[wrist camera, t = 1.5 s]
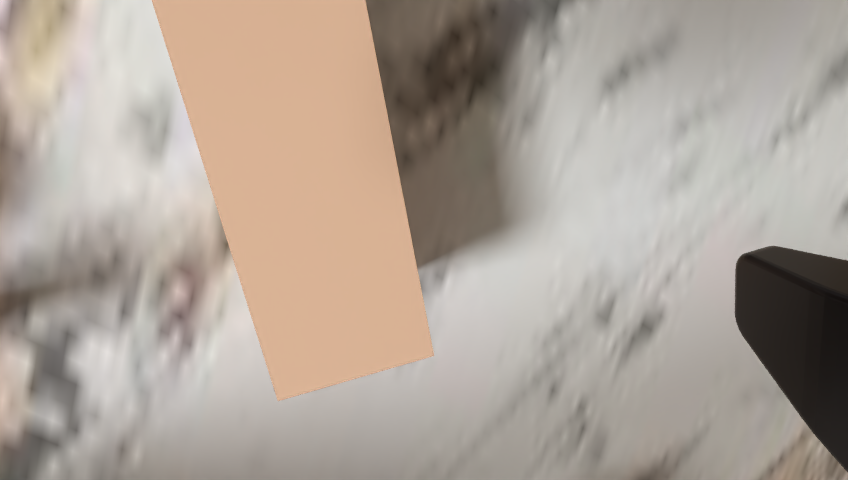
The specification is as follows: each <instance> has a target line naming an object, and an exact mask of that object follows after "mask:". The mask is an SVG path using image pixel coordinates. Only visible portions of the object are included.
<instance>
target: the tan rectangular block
mask: <svg viewBox="0 0 848 480" xmlns="http://www.w3.org/2000/svg"><path fill="white" fill-rule="evenodd" d="M152 2H153V6H154V9H155V12H156V15H157V18H158V21H159V25H160V28H161V31H162V34H163V37H164V41H165V44H166V47H167V50H168V53H169V56H170V60H171V63H172V66H173V69H174V72H175V76H176V79H177V82H178V85H179V88H180V91H181V95H182V98H183V101H184V104H185V107H186V110H187V114H188V117H189V120H190V123H191V126H192V130H193V133H194V136H195V139H196V142H197V145H198V149H199V152H200V155H201V158H202V161H203V164H204V168H205V171H206V174H207V177H208V180H209V184H210V187H211V190H212V193H213V196H214V199H215V203H216V206H217V209H218V212H219V215H220V218H221V222H222V225H223V228H224V231H225V234H226V238H227V241H228V244H229V247H230V250H231V253H232V257H233V260H234V263H235V266H236V269H237V273H238V276H239V279H240V282H241V285H242V288H243V292H244V295H245V298H246V301H247V304H248V307H249V311H250V314H251V317H252V320H253V323H254V327H255V330H256V333H257V336H258V339H259V342H260V346H261V349H262V352H263V355H264V358H265V361H266V365H267V368H268V371H269V374H270V377H271V381H272V384H273V387H274V390H275V393H276V396H277V400H278V401H280V400H284V399H287V398H290V397H294V396H297V395H301V394H304V393H308V392H311V391H315V390H318V389H321V388H325V387H328V386H332V385H335V384H339V383H342V382H346V381H349V380H352V379H356V378H359V377H363V376H366V375H370V374H373V373H377V372H380V371H383V370H387V369H390V368H394V367H397V366H401V365H404V364H407V363H411V362H414V361H418V360H421V359H425V358H428V357H432V356H434V353H433V348H432V342H431V337H430V332H429V327H428V322H427V317H426V311H425V306H424V301H423V296H422V291H421V285H420V280H419V275H418V270H417V265H416V260H415V254H414V249H413V244H412V239H411V234H410V228H409V223H408V218H407V213H406V208H405V203H404V197H403V192H402V187H401V182H400V177H399V172H398V166H397V161H396V156H395V151H394V146H393V140H392V135H391V130H390V125H389V120H388V115H387V109H386V104H385V99H384V94H383V89H382V83H381V78H380V73H379V68H378V63H377V58H376V52H375V47H374V42H373V37H372V32H371V27H370V21H369V16H368V11H367V6H366V1H365V0H152Z"/></svg>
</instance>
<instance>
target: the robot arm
mask: <svg viewBox="0 0 848 480" xmlns="http://www.w3.org/2000/svg"><path fill="white" fill-rule="evenodd" d="M735 318H736V322H737V325H738V328H739V330H740V332H741V334H742V335H743V337H744V338H745V340H746V341H747V343H748V344H749V345H750V347H751V348H752V350H753V351H754V352H755V354H756V355H757V356H758V358H759V359H760V361H761V362H762V363H763V365H764V366H765V368H766V369H767V370H768V372H769V373H770V374H771V376H772V377H773V379H774V380H775V381H776V383H777V384H778V386H779V387H780V388H781V390H782V391H783V393H784V394H785V395H786V397H787V398H788V399H789V401H790V402H791V404H792V405H793V406H794V408H795V409H796V411H797V412H798V413H799V415H800V416H801V417H802V419H803V420H804V421H805V423H806V424H807V425H808V427H809V428H810V429H811V430H812V432H813V433H814V434H815V435H816V437H817V438H818V439H819V440H820V441H821V442H822V444H823V445H824V446H825V447H826V448H827V450H828V451H829V452H830V453H831V454H832V455H833V456H834V457H835V459H836V460H837V461H838V462H839V463H840V464H841V465H842V466H843V467H844V469H845V470H846V471H847V472H848V261H847V260H842V259H837V258H832V257H827V256H822V255H817V254H812V253H807V252H803V251H798V250H793V249H788V248H783V247H778V246H768V247H765V248H762V249H758V250H755V251H751V252H748V253H745V254H743V255H741V256H740V257H739V259H738V261H737V263H736V274H735Z"/></svg>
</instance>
